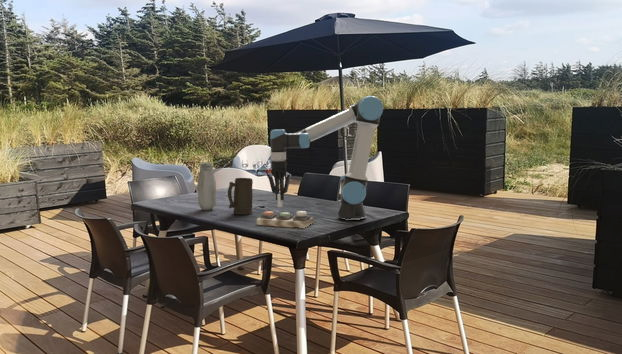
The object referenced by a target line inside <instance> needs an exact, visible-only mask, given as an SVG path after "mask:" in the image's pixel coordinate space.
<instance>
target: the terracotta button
mask: <svg viewBox="0 0 622 354" xmlns="http://www.w3.org/2000/svg"><path fill="white" fill-rule="evenodd" d="M274 213H275V212H274V211H270V210H269V211H267V210H266V211H263V214H264V215H268V216H272V215H274Z"/></svg>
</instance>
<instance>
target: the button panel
mask: <svg viewBox="0 0 622 354" xmlns="http://www.w3.org/2000/svg"><path fill="white" fill-rule="evenodd" d="M312 223H313V224H314V217H311V215H307V216H305V217H298V216H297V214H296V215H295V214H291V213H290V216H289V217H283V216H280V214H278V213H277V212H276V213H275V212H274V215H272V216H268V215H264V213H262V214H260V215H259V217H258V218H256V226H267V227H268V226H269V227H281V228H293V227H299V228H298V229H306V228H308V227H309V225H310V224H311V225H313V224H312ZM311 225H310V226H311ZM307 226H308V227H307ZM305 227H306V228H305Z"/></svg>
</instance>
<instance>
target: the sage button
mask: <svg viewBox="0 0 622 354" xmlns="http://www.w3.org/2000/svg"><path fill="white" fill-rule="evenodd" d="M290 214H291V213H290V212H288V211H285V212H284V211H283V212H280V213H279V215H280V216H283V217H289V216H290Z"/></svg>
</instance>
